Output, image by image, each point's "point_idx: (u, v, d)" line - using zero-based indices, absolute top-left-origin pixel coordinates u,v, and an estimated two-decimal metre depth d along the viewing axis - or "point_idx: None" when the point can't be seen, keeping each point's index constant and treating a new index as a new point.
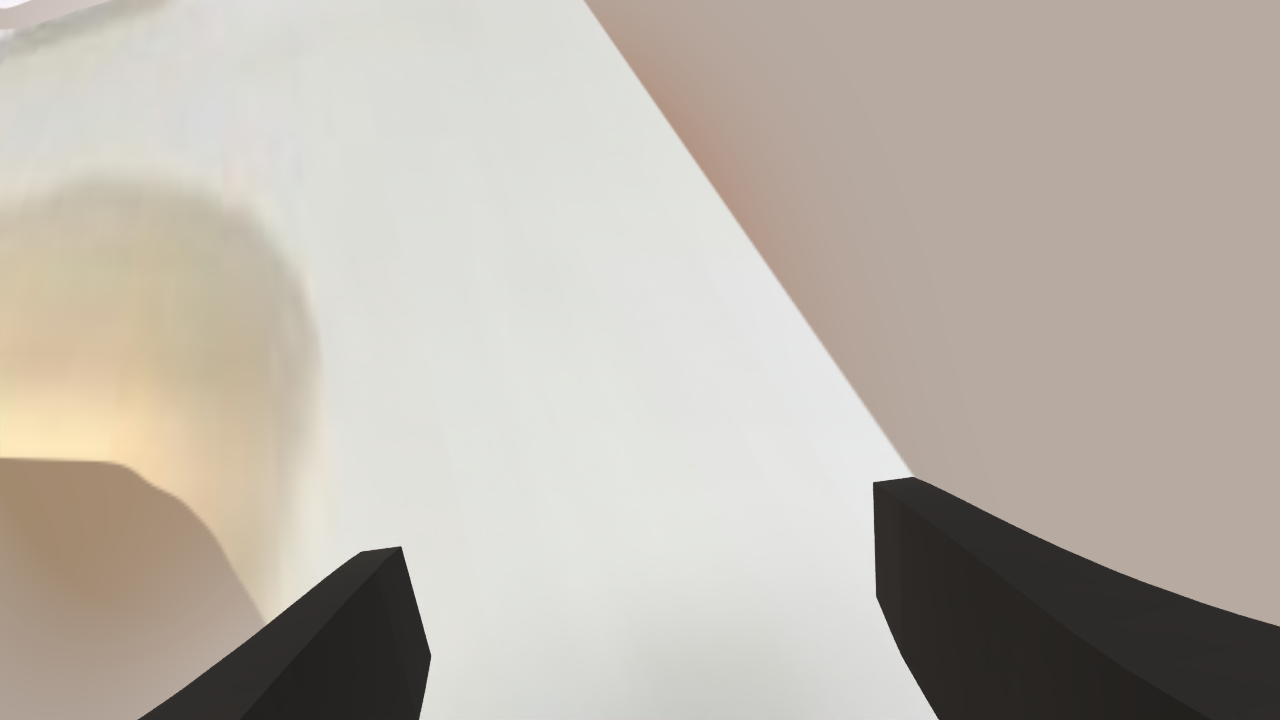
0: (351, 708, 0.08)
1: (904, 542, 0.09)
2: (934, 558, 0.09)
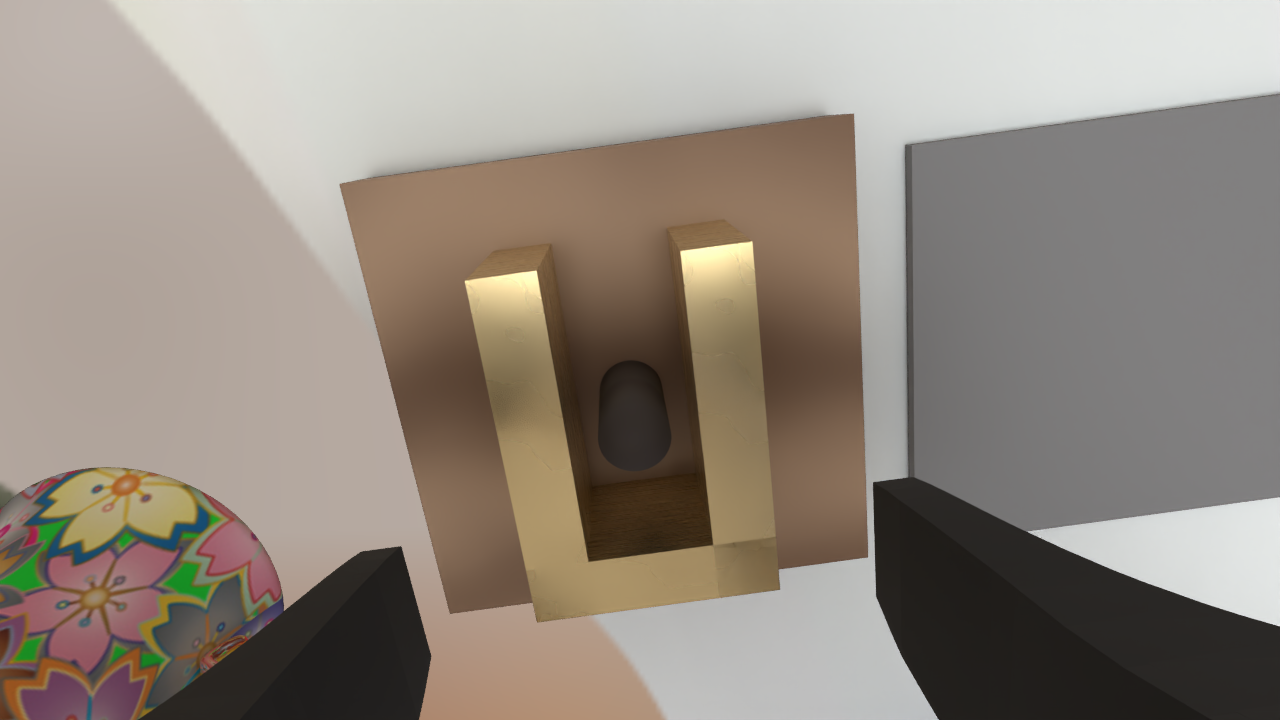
0: (351, 708, 0.08)
1: (904, 542, 0.09)
2: (934, 558, 0.09)
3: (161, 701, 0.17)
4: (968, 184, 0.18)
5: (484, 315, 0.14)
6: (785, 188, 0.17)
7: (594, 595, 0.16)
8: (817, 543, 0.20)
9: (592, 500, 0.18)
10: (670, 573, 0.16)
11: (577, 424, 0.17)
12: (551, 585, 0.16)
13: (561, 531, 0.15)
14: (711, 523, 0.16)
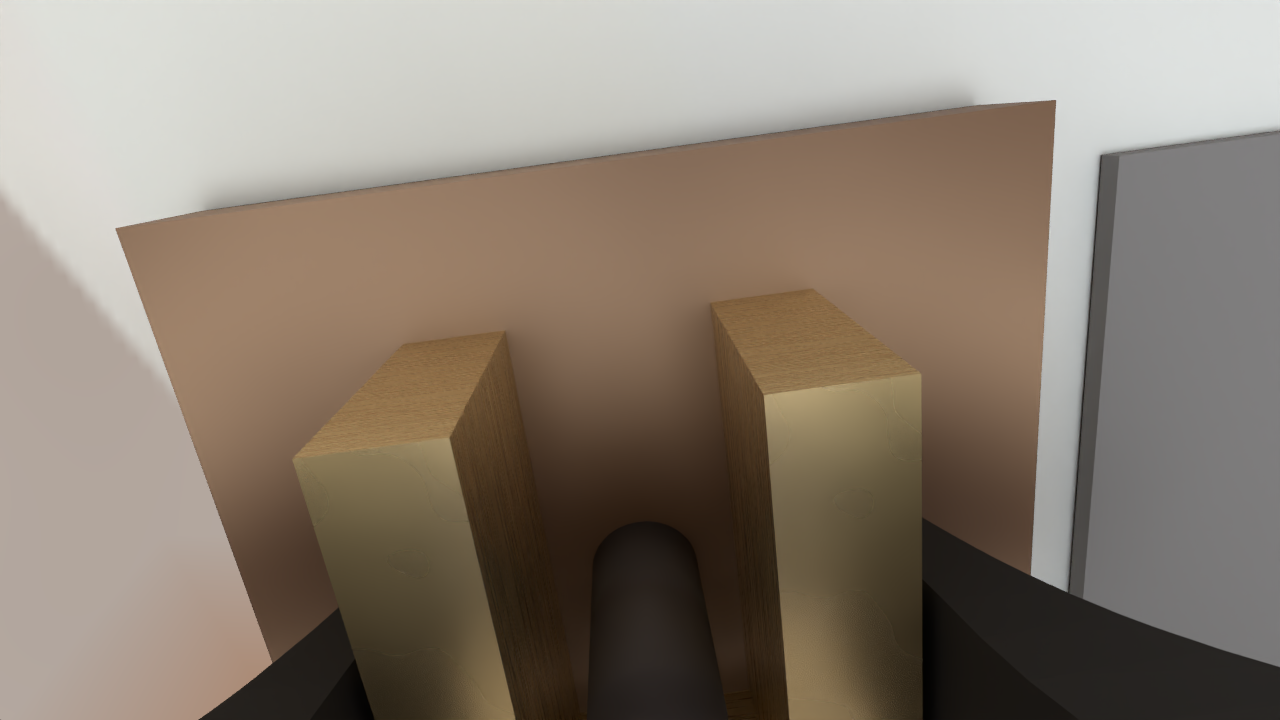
0: None
1: None
2: None
3: None
4: (1206, 220, 0.11)
5: (340, 527, 0.06)
6: (923, 233, 0.09)
7: None
8: None
9: None
10: None
11: (552, 643, 0.10)
12: None
13: None
14: None
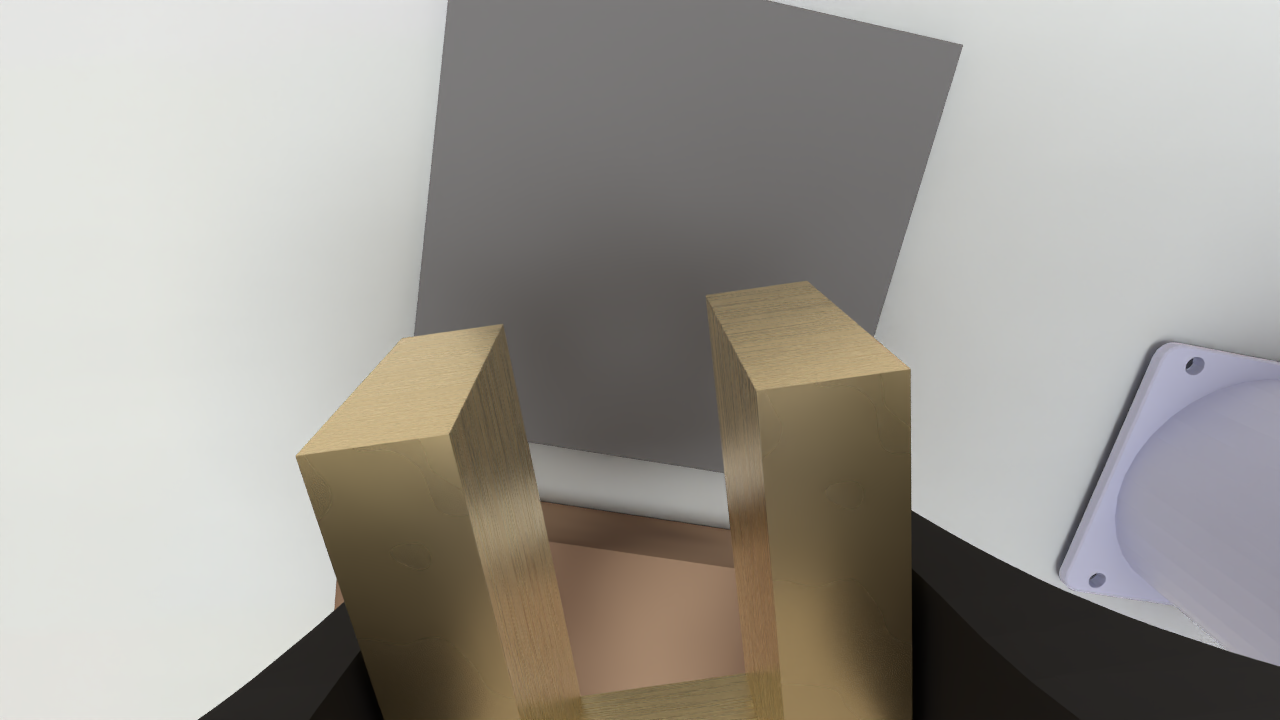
0: None
1: None
2: None
3: None
4: None
5: (343, 522, 0.07)
6: None
7: None
8: None
9: None
10: None
11: (553, 630, 0.10)
12: None
13: None
14: None
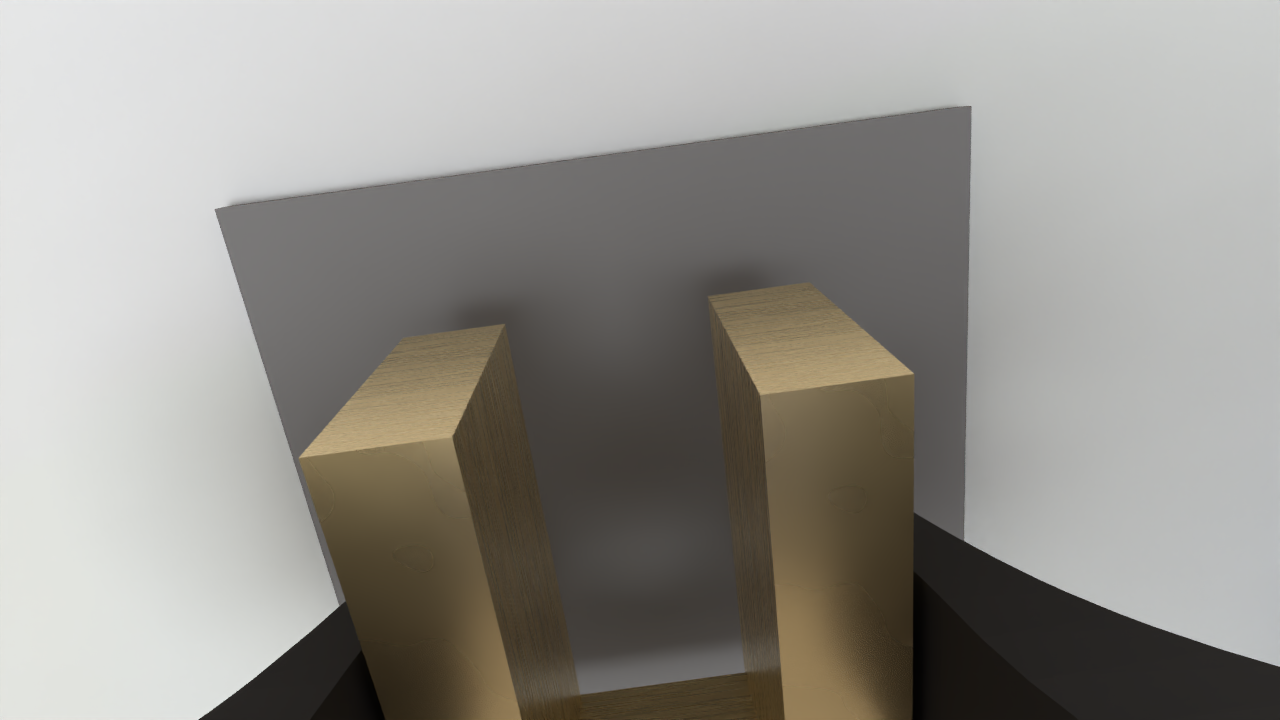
0: None
1: None
2: None
3: None
4: None
5: (346, 524, 0.07)
6: None
7: None
8: None
9: None
10: None
11: (553, 629, 0.10)
12: None
13: None
14: None
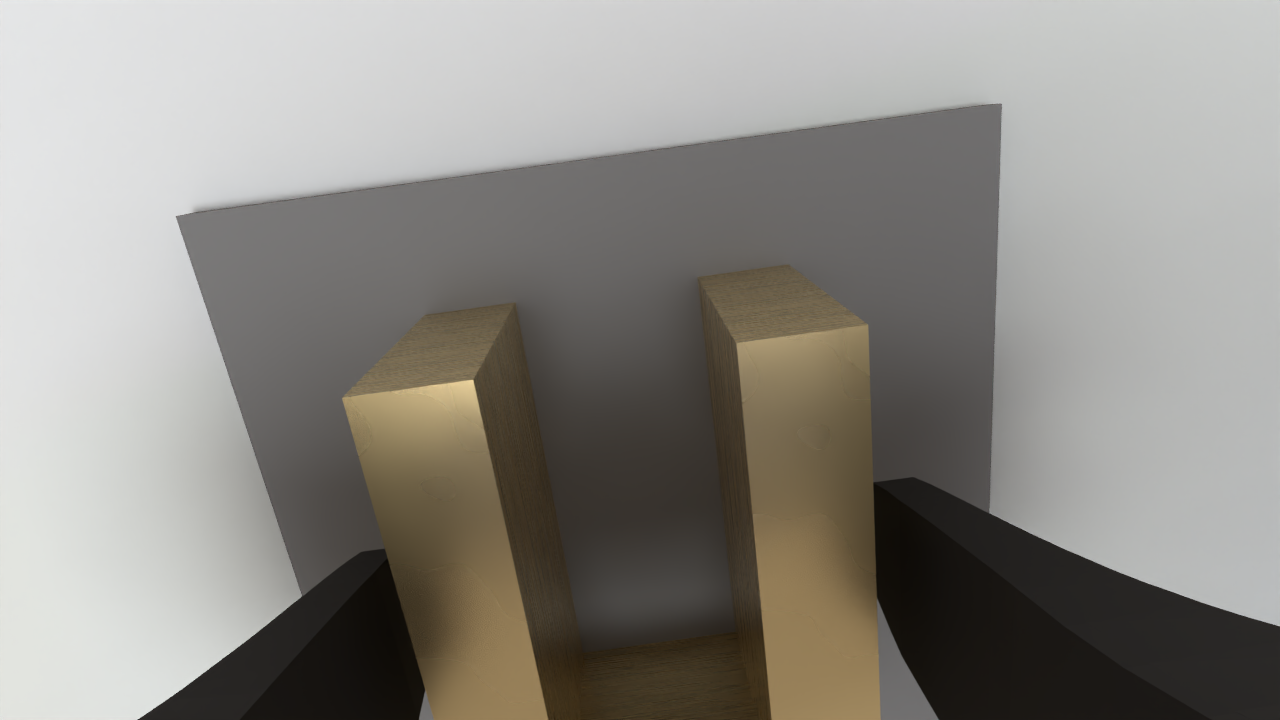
0: (351, 708, 0.08)
1: (904, 542, 0.09)
2: (934, 558, 0.09)
3: None
4: None
5: (381, 457, 0.08)
6: None
7: None
8: None
9: (583, 684, 0.12)
10: None
11: (558, 582, 0.11)
12: None
13: None
14: None
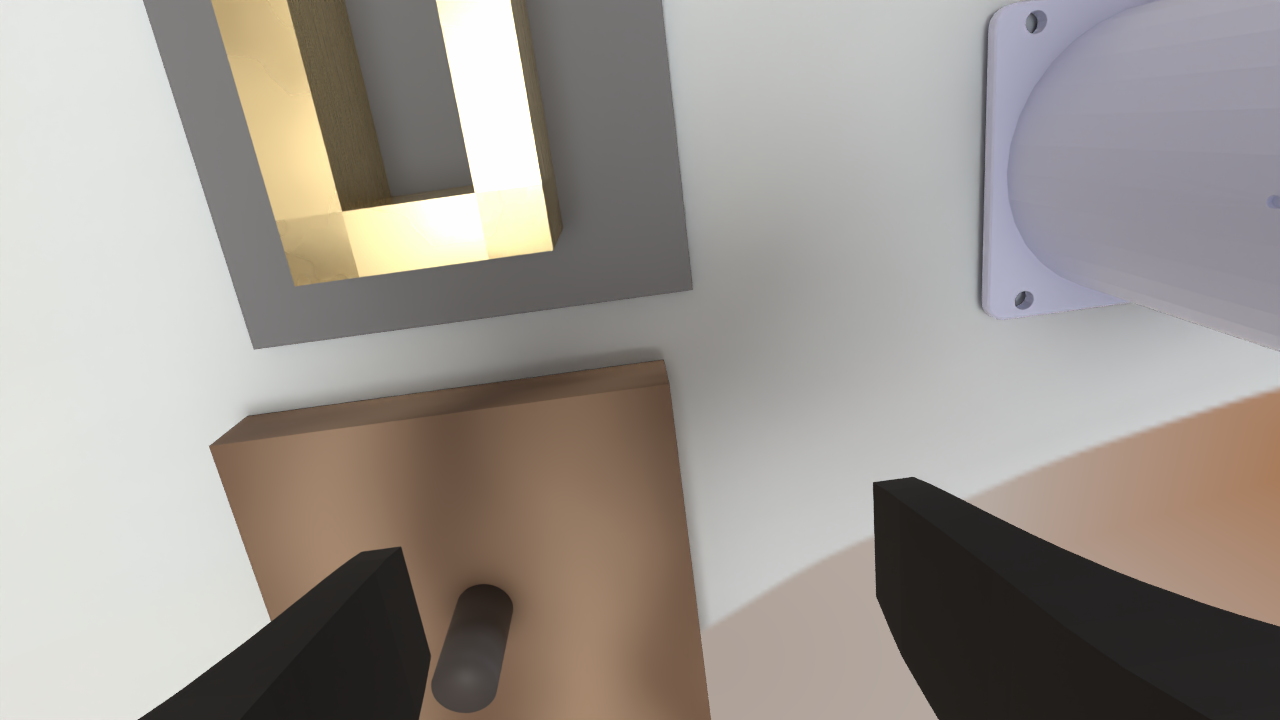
0: (351, 707, 0.08)
1: (904, 542, 0.09)
2: (934, 558, 0.09)
3: None
4: (281, 290, 0.19)
5: None
6: (283, 496, 0.19)
7: (353, 254, 0.15)
8: (650, 437, 0.19)
9: (383, 199, 0.17)
10: (432, 227, 0.15)
11: (354, 100, 0.16)
12: (305, 240, 0.15)
13: (308, 172, 0.14)
14: (471, 167, 0.15)
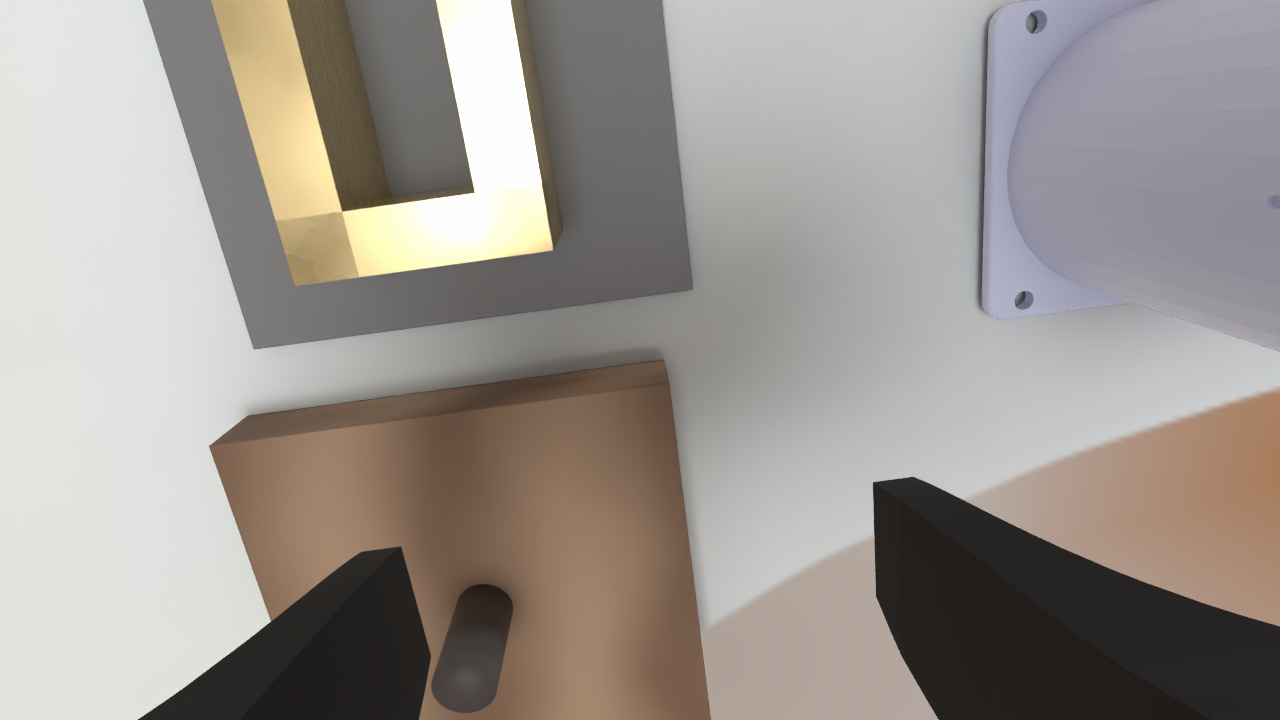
0: (351, 707, 0.08)
1: (904, 542, 0.09)
2: (934, 558, 0.09)
3: None
4: (281, 290, 0.19)
5: None
6: (283, 496, 0.19)
7: (353, 254, 0.15)
8: (650, 437, 0.19)
9: (383, 199, 0.17)
10: (432, 227, 0.15)
11: (354, 100, 0.16)
12: (305, 240, 0.15)
13: (308, 172, 0.14)
14: (471, 167, 0.15)
